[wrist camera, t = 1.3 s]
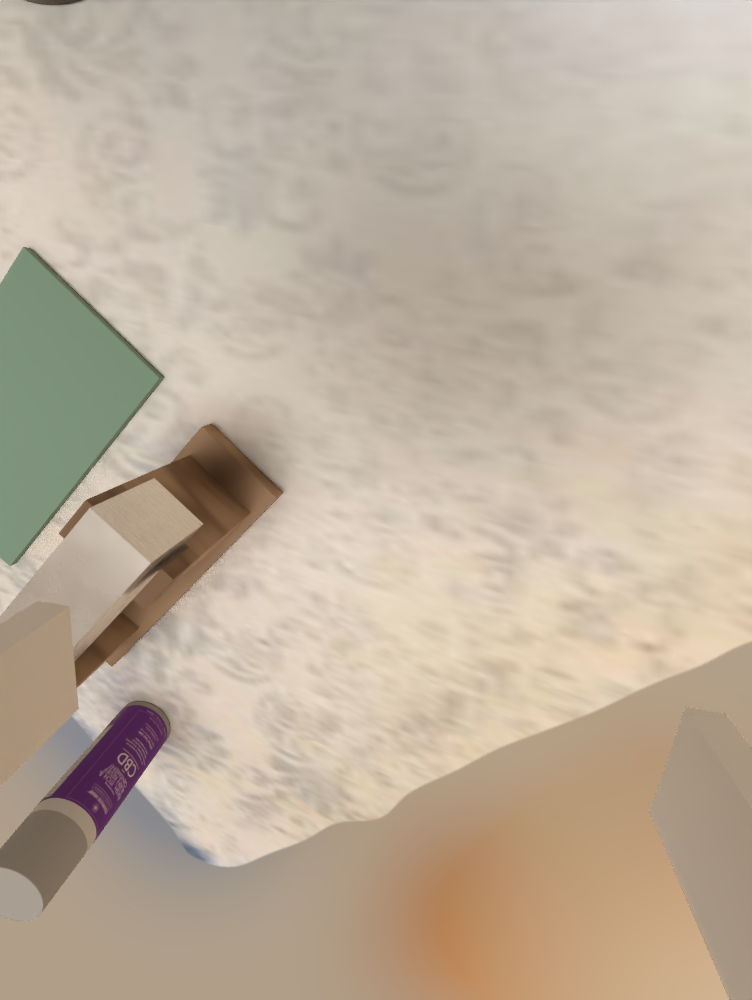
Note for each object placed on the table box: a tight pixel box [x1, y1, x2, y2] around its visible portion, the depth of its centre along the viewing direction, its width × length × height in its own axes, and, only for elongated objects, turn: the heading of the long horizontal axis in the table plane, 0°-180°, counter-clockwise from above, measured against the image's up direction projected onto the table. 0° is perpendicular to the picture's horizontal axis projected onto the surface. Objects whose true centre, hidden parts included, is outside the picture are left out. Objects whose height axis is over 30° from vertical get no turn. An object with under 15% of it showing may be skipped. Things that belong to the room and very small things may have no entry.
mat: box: [0, 247, 164, 566], centre depth 39 cm, size 12×21×1 cm, turn 136°
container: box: [0, 701, 170, 922], centre depth 39 cm, size 5×5×15 cm
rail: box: [0, 478, 203, 662], centre depth 29 cm, size 4×20×5 cm, turn 136°
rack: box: [59, 424, 283, 687], centre depth 35 cm, size 7×21×12 cm, turn 136°
